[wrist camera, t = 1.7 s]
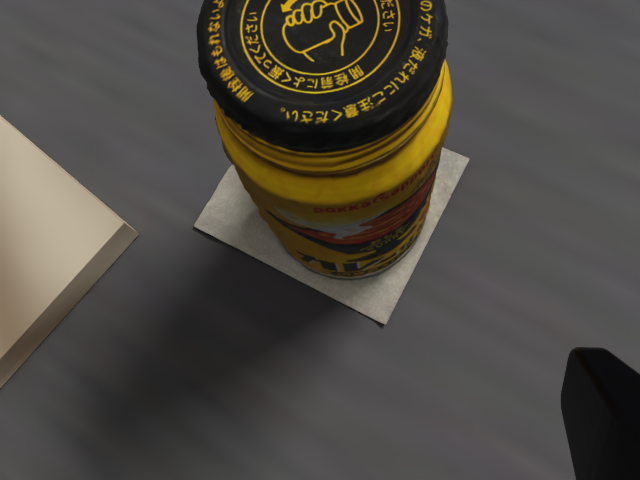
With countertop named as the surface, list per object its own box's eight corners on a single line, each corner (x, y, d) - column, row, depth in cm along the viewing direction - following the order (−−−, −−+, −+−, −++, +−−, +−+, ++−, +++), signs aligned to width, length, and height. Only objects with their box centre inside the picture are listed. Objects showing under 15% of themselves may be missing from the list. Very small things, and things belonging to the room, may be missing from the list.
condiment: (385, 325, 22) (391, 234, 11) (194, 227, 24) (22, 58, 12) (468, 161, 23) (554, -78, 12) (283, 80, 25) (202, -195, 14)
